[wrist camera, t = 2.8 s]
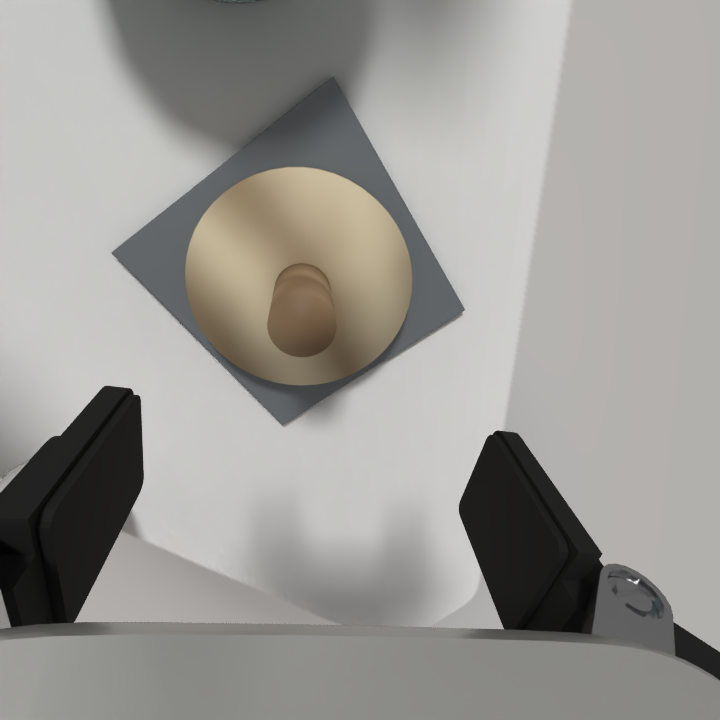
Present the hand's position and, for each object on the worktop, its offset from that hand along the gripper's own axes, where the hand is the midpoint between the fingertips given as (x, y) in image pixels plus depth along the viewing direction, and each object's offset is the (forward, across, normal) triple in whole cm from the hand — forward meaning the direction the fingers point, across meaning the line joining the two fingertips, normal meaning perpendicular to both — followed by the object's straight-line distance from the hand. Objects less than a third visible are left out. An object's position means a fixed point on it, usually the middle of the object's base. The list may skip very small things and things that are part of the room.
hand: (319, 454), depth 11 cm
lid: (+14, +1, 0) cm, 14 cm away
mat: (+14, +1, 0) cm, 14 cm away
